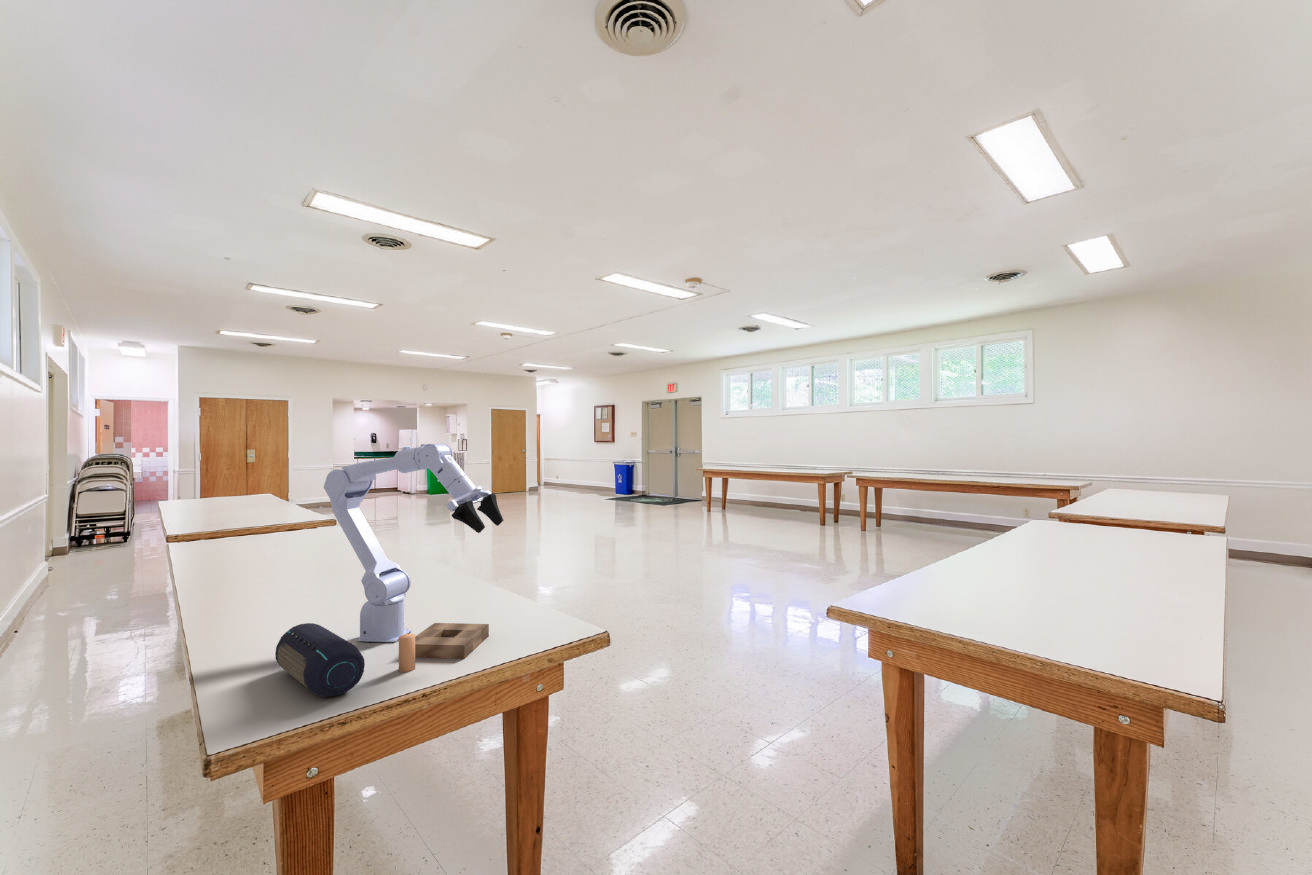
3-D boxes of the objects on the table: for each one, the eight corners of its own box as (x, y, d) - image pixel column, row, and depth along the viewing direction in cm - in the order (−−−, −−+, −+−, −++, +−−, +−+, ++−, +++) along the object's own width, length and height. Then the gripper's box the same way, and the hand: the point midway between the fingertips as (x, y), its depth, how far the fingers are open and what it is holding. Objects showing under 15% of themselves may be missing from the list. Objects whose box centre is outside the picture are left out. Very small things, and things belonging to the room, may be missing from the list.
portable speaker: (269, 673, 113) (269, 626, 113) (322, 658, 121) (322, 614, 121) (313, 711, 97) (312, 655, 97) (370, 691, 105) (370, 639, 105)
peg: (395, 671, 113) (395, 638, 113) (403, 665, 116) (403, 633, 116) (410, 672, 113) (410, 639, 113) (418, 666, 116) (418, 633, 116)
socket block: (404, 657, 121) (404, 643, 121) (434, 634, 135) (434, 622, 135) (464, 658, 120) (464, 645, 120) (488, 635, 134) (488, 623, 134)
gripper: (447, 477, 122) (483, 522, 120) (485, 469, 136) (518, 510, 134) (429, 496, 124) (464, 542, 122) (468, 486, 137) (500, 527, 136)
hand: (491, 526), depth 128 cm, fingers open, 7 cm apart
